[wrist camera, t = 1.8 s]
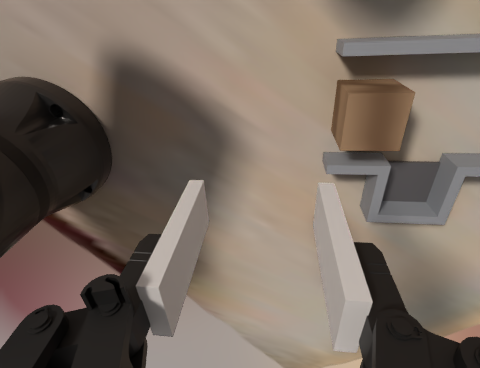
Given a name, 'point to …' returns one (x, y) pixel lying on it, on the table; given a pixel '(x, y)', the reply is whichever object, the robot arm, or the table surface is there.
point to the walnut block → (371, 114)
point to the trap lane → (403, 172)
